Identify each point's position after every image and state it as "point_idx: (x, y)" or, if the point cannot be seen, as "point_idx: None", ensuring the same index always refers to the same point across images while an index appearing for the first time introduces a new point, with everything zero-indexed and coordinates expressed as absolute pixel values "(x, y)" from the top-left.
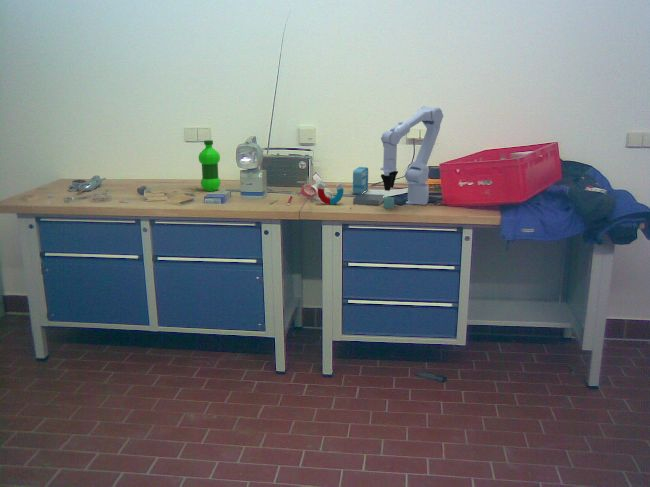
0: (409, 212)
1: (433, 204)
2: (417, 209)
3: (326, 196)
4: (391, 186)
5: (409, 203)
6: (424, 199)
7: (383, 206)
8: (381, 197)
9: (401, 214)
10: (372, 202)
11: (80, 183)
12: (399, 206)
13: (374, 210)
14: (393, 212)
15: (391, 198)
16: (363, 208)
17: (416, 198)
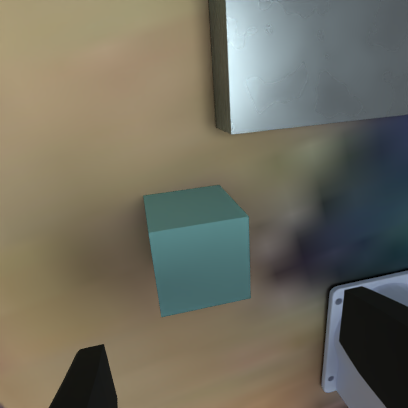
0: None
1: None
2: (201, 395)
3: None
4: (347, 335)
5: (329, 310)
6: (352, 404)
7: (144, 200)
8: (362, 116)
9: (3, 382)
10: (220, 59)
11: None
12: None
13: (11, 151)
14: (33, 316)
15: (184, 299)
16: (34, 4)
17: (354, 372)
